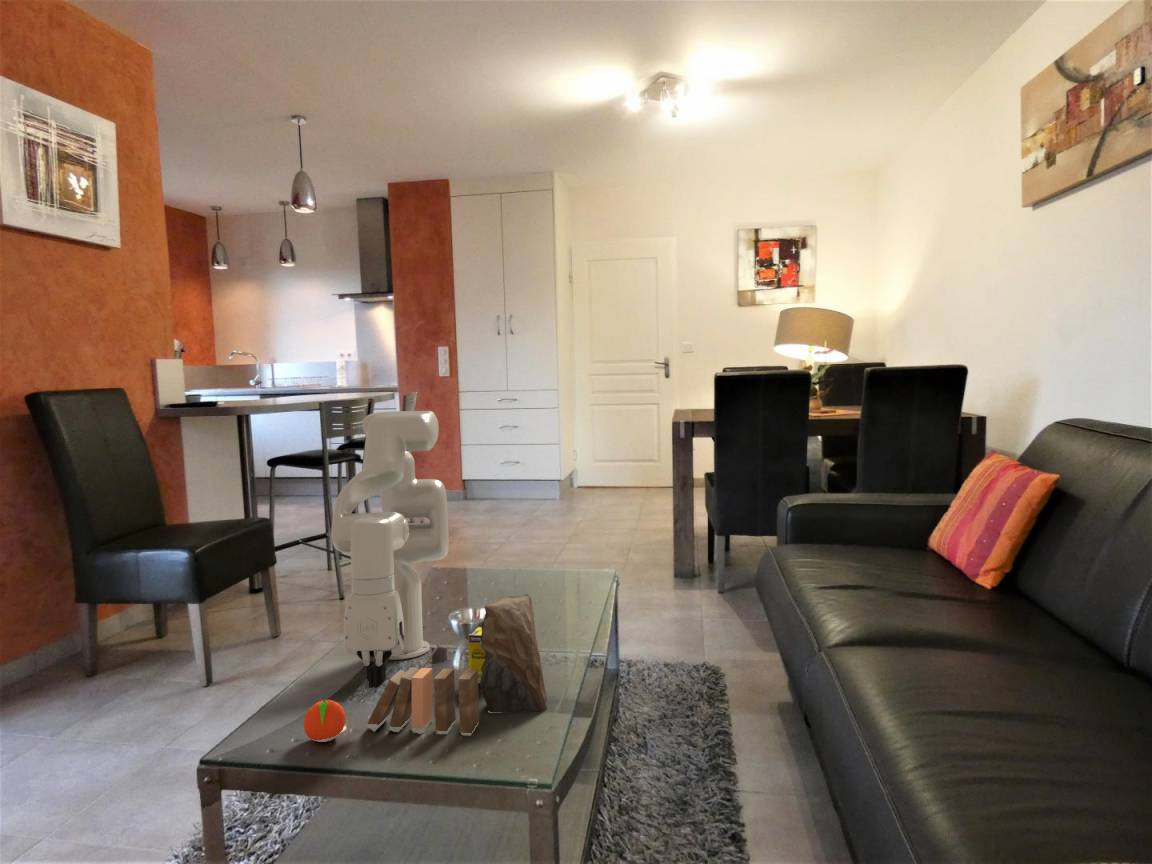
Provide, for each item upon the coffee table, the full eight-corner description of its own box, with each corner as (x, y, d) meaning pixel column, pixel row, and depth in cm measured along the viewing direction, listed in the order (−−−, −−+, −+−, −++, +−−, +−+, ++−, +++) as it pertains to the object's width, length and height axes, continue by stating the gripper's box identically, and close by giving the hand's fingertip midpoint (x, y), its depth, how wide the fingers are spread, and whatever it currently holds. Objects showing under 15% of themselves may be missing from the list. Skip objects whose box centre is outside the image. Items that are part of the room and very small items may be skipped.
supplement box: (496, 688, 139) (494, 635, 139) (468, 686, 140) (467, 634, 140) (504, 677, 144) (503, 627, 144) (478, 676, 146) (477, 626, 146)
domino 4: (435, 735, 117) (433, 678, 118) (445, 722, 122) (443, 668, 122) (446, 735, 117) (444, 678, 117) (455, 723, 122) (453, 668, 122)
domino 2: (388, 730, 119) (401, 676, 118) (399, 718, 124) (412, 667, 123) (398, 733, 118) (411, 680, 118) (409, 721, 123) (422, 670, 123)
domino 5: (460, 735, 117) (458, 679, 117) (468, 723, 122) (467, 669, 122) (471, 736, 117) (469, 679, 117) (479, 723, 121) (477, 669, 122)
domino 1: (365, 727, 119) (389, 679, 119) (377, 715, 124) (401, 669, 124) (374, 732, 119) (399, 685, 118) (386, 720, 124) (410, 674, 123)
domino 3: (432, 722, 123) (432, 668, 123) (422, 734, 118) (422, 678, 118) (422, 721, 123) (422, 667, 123) (411, 733, 118) (411, 677, 118)
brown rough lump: (480, 715, 125) (477, 609, 125) (483, 690, 138) (480, 593, 138) (547, 710, 126) (543, 605, 126) (544, 685, 139) (540, 590, 139)
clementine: (344, 749, 113) (343, 707, 113) (301, 756, 111) (299, 713, 111) (347, 729, 121) (346, 690, 121) (306, 735, 119) (305, 696, 119)
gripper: (324, 590, 119) (328, 692, 119) (403, 590, 117) (407, 694, 117) (345, 581, 127) (348, 677, 127) (419, 580, 124) (423, 678, 124)
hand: (376, 685), depth 122 cm, fingers closed
